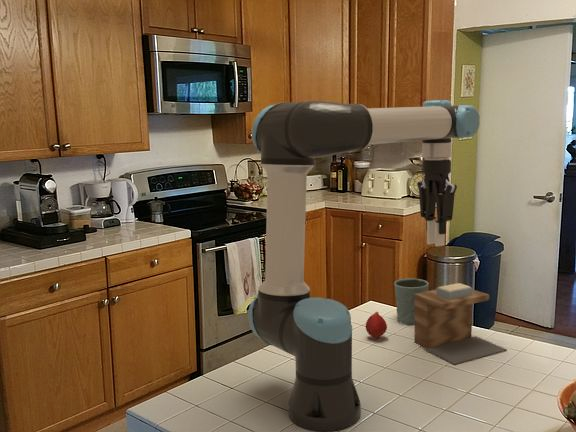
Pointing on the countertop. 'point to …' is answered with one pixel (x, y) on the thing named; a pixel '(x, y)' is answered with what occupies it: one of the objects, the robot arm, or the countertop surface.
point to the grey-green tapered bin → (408, 298)
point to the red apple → (376, 325)
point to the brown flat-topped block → (443, 318)
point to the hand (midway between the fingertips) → (435, 244)
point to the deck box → (454, 291)
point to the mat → (465, 350)
